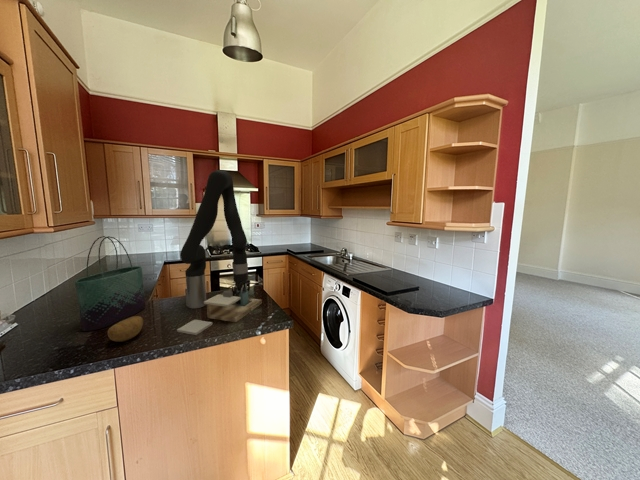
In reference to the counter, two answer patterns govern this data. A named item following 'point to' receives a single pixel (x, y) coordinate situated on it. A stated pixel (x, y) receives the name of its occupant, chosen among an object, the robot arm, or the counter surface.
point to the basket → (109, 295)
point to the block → (243, 298)
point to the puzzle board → (231, 310)
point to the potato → (125, 329)
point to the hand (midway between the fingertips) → (242, 301)
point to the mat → (194, 327)
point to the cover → (223, 299)
